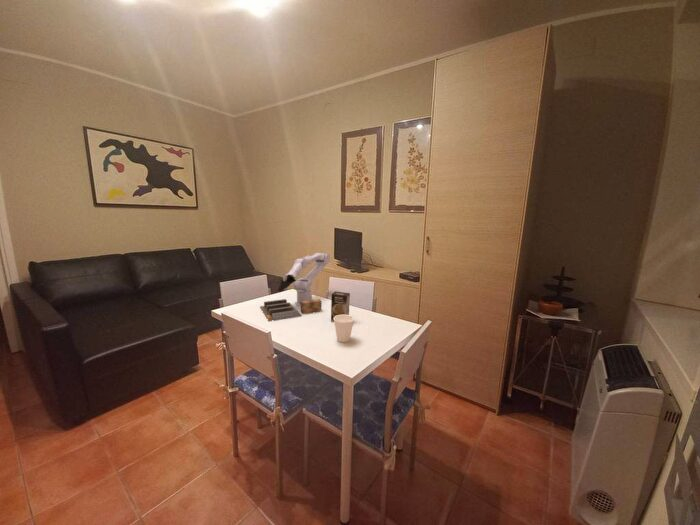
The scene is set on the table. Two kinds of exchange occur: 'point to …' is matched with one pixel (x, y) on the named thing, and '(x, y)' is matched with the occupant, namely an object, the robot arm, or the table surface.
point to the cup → (343, 327)
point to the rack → (279, 310)
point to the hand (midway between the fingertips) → (282, 288)
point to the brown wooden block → (310, 306)
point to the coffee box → (339, 304)
